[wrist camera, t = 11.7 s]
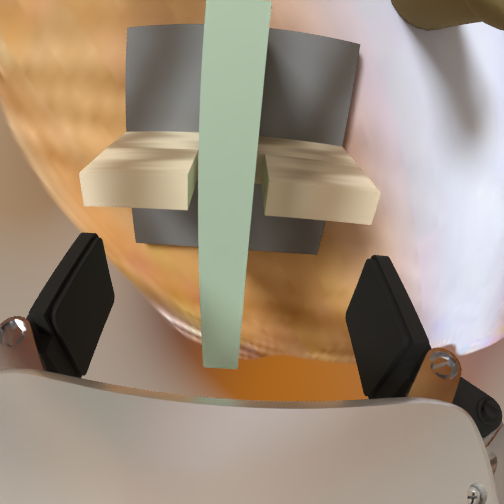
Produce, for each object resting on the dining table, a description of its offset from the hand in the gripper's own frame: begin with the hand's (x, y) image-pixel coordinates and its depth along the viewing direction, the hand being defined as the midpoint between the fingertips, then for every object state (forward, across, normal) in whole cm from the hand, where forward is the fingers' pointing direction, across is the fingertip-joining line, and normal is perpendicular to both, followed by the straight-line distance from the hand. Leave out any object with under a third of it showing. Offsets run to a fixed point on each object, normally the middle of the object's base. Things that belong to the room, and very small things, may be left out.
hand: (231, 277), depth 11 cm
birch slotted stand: (+15, +1, 0) cm, 15 cm away
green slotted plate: (+14, +1, 0) cm, 14 cm away
